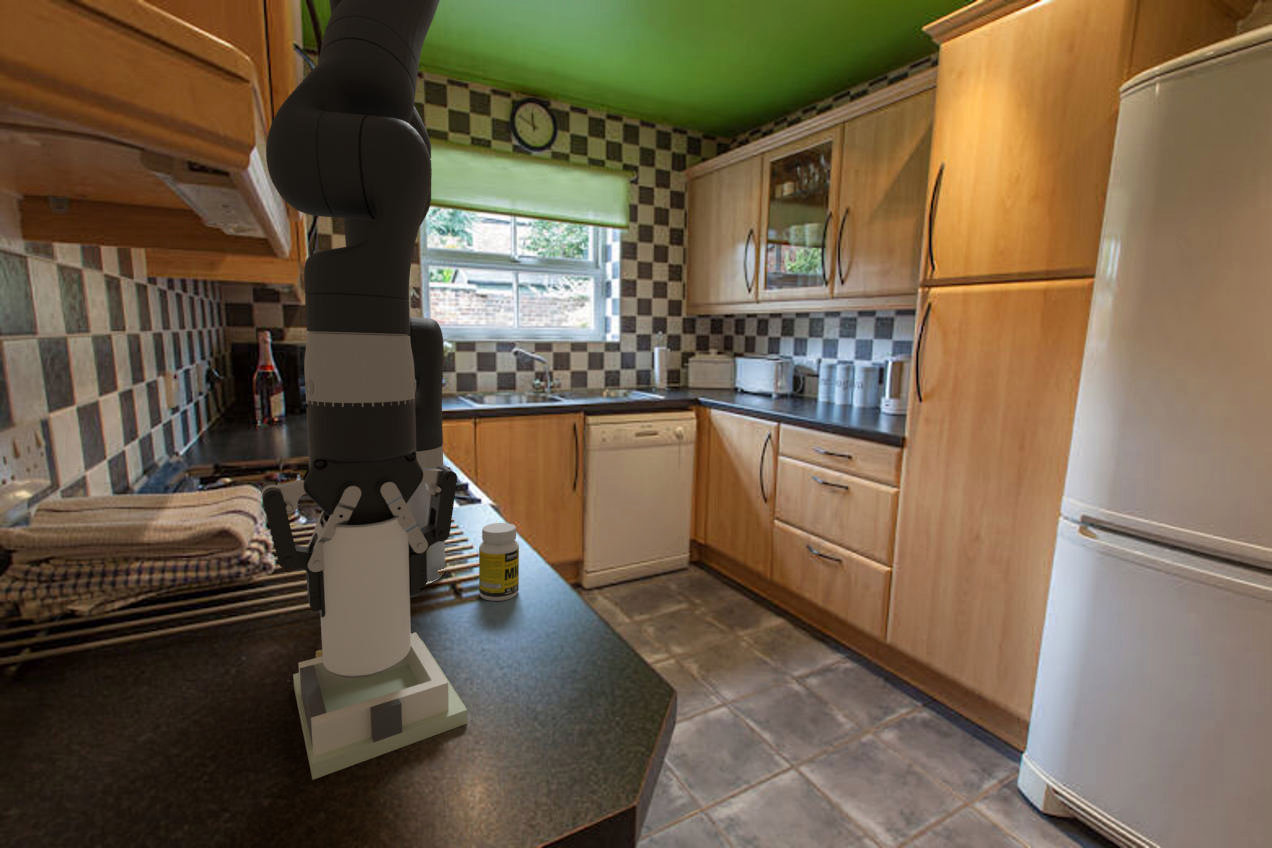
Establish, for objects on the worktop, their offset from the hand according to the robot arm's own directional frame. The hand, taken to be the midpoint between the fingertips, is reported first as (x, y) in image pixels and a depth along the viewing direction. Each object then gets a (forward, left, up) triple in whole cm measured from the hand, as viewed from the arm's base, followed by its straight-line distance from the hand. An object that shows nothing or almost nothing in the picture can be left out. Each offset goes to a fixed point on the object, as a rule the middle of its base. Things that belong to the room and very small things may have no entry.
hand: (369, 601), depth 46 cm
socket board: (-1, 0, -10) cm, 10 cm away
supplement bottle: (-16, +17, -10) cm, 26 cm away
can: (0, 0, -5) cm, 5 cm away
